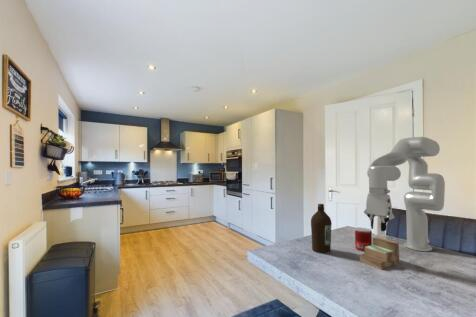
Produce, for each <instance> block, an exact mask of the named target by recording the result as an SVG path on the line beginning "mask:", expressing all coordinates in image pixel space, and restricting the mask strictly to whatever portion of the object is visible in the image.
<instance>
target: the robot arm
mask: <svg viewBox="0 0 476 317" xmlns="http://www.w3.org/2000/svg"><path fill="white" fill-rule="evenodd" d="M440 151H441V149H440V145H439V143H438V142H437V141H436V140H433V139H432V138H429V137H426V136H415V137H406V138H404V137H403V138H401V139H400V140H398V141H397V143H396V144H395V145H394V146H393V147H392V149H391V150H390V152H388V153H386V154H383V155H382V156H379V157H377V158H376V159H374V160H373V161H372V162H371V164H369V166H368V168H367V172H366V174H367V178H368V193H367V196H366V202H365V204H366V205H365V206H366V207H365V210H364V211H363V213H364V214H365V215H366V217H368V218H369V220H370V227H371V229H370V230H373V222H374V216H375V215H379V216H381V219H382V223H381V231H385V232H386V231H387V229H388V227H387V225H388V224H387V223H389V221H391V220H393V219H395V215H394V213H393V207H392V200H391V196H390V193H391V189H388V182H395V181H397V180H399V179H400V177H401V175H402V174H401V172H402V171H401V170H400V169H399V167H397V166H400V165H402V164H405V163H406V162H407V163H408V179H407V181H408V187H409V188H411V189H414V190H418V191H407V192H406V193H404V196H403V202H404V206H405V210H406V211H405V213H406V214H405V216H406V218H405V220H406V241H405V242H403V246H404V247H405V248H407V249H410V250H413V251H418V252H419V251H420V252H432V251H433V248H432V247H431V246H430V245H429V243H430V239H429V224H428V222H429V221H428V220H429V219H428V218H429V217H428V216H427V213H426V212H425V211H424V210H427V211H433V212H439V211H442V210H443V209H444V207H445V191H446V189H445V188H446V182H445V178H444V176H443V175H441V174H440V173H433V172H432V173H431V172H430V173H429V172H428V167H429V165H428V163H427V162H426V160H424V158H425V157H428V158H429V157H436V156H438V154H439V153H440ZM419 190H421V191H419ZM424 191H431V192H424Z"/></svg>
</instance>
